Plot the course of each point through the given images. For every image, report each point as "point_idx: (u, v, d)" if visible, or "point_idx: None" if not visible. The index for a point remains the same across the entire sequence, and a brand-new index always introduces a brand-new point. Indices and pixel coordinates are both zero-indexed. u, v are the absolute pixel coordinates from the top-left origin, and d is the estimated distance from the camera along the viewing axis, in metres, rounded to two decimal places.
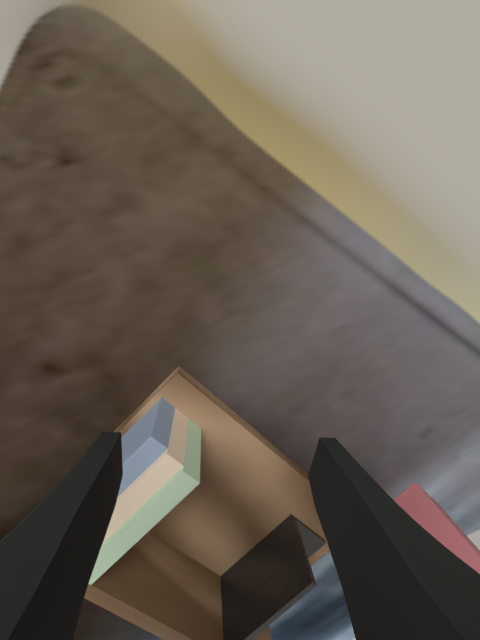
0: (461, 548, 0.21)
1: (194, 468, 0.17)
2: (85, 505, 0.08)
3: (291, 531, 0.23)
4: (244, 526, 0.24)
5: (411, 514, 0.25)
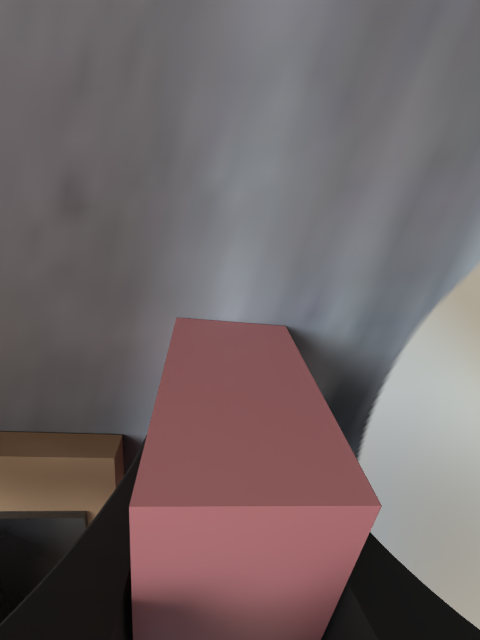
0: None
1: None
2: None
3: None
4: None
5: None
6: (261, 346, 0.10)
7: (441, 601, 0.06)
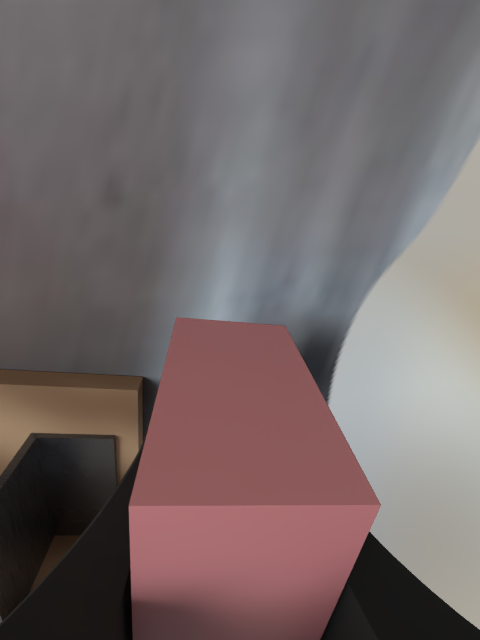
0: None
1: None
2: None
3: None
4: None
5: None
6: (261, 346, 0.10)
7: (441, 601, 0.06)
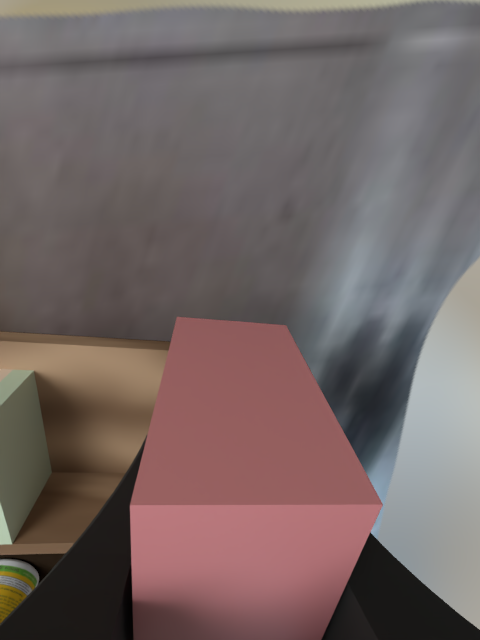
0: None
1: None
2: None
3: None
4: None
5: None
6: (262, 345, 0.10)
7: (441, 601, 0.06)
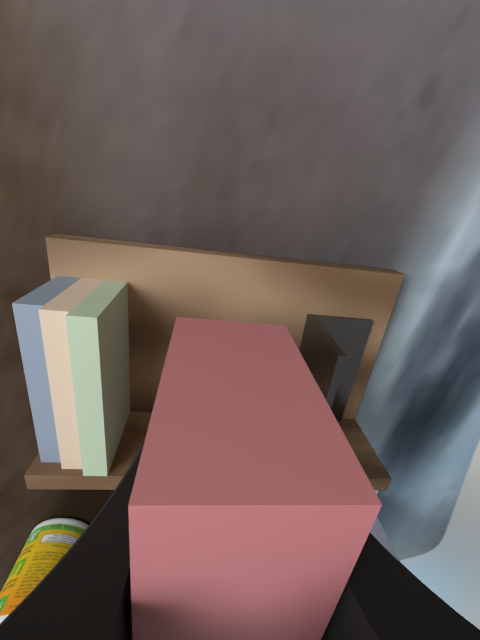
0: None
1: (92, 309, 0.13)
2: None
3: (311, 328, 0.18)
4: None
5: None
6: (261, 345, 0.10)
7: (441, 601, 0.06)
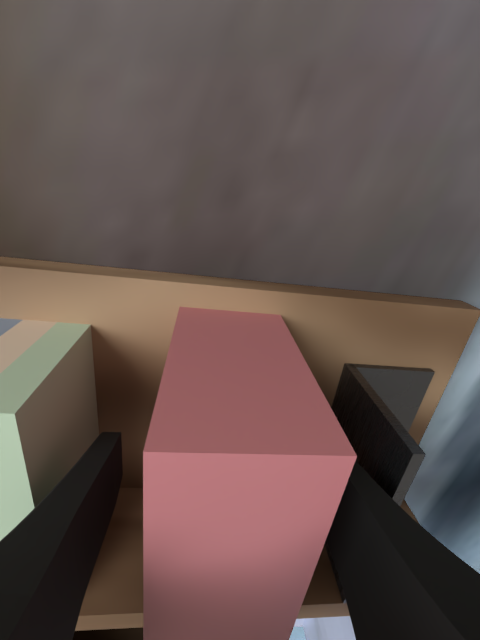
0: None
1: (15, 392, 0.08)
2: (85, 505, 0.08)
3: (353, 387, 0.13)
4: None
5: None
6: (257, 331, 0.10)
7: None
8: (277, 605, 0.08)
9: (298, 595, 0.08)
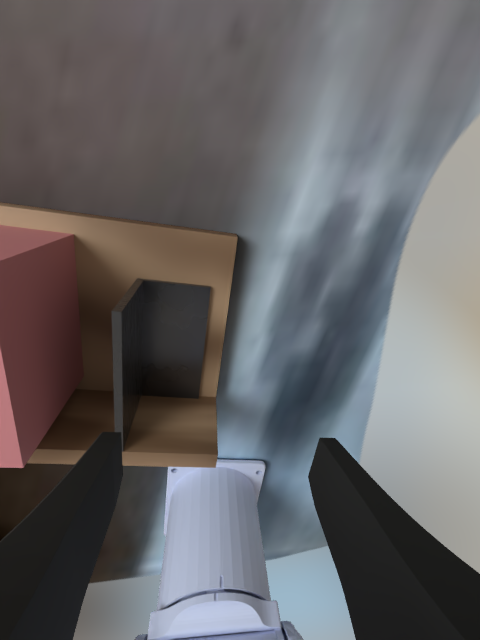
0: None
1: None
2: (85, 505, 0.08)
3: None
4: (101, 325, 0.18)
5: None
6: (31, 236, 0.14)
7: None
8: None
9: (2, 388, 0.12)
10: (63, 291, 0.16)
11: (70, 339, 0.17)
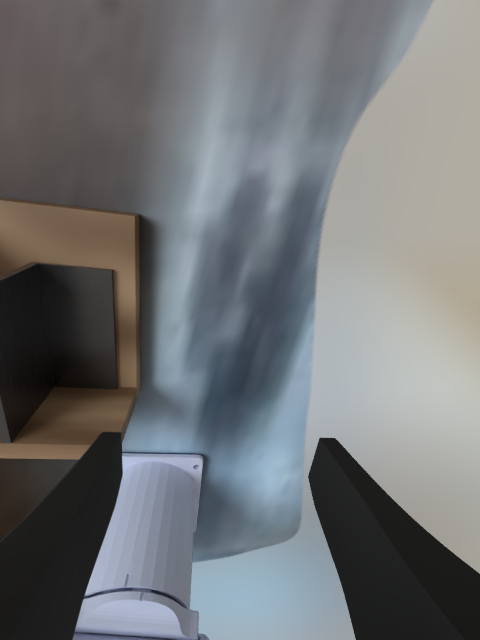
0: None
1: None
2: (85, 505, 0.08)
3: None
4: None
5: None
6: None
7: None
8: None
9: None
10: None
11: None
